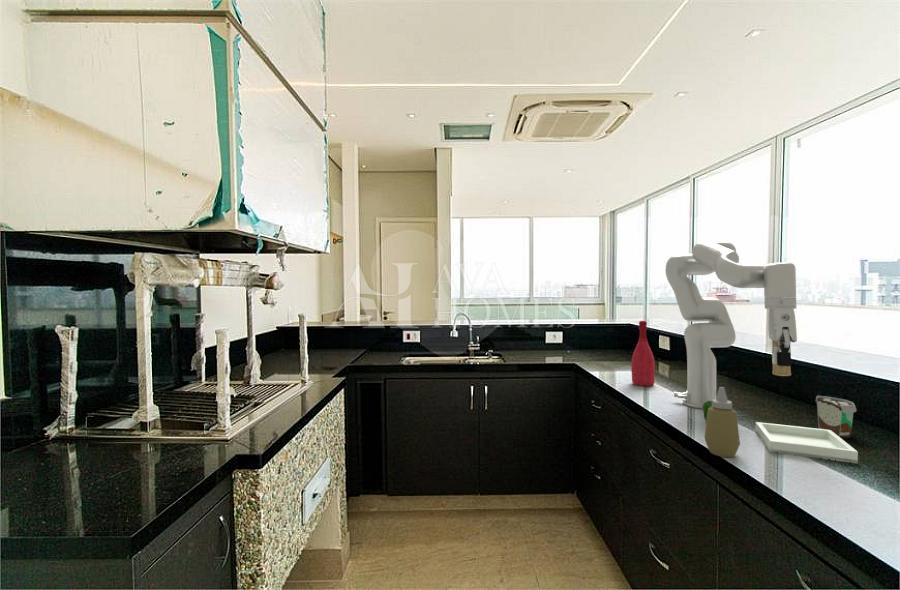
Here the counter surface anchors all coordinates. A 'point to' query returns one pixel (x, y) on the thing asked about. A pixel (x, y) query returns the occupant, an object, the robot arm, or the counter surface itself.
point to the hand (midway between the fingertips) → (781, 363)
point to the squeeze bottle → (722, 427)
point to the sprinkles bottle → (776, 369)
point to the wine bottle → (643, 360)
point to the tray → (805, 442)
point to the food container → (835, 415)
